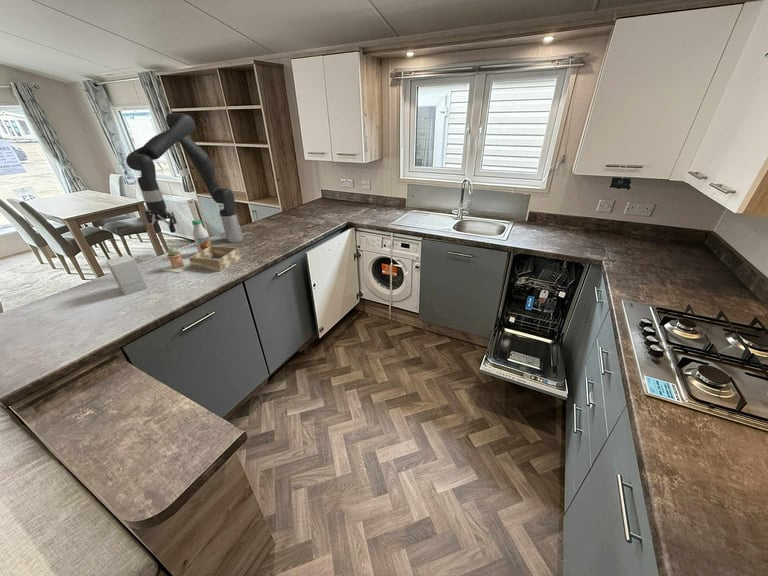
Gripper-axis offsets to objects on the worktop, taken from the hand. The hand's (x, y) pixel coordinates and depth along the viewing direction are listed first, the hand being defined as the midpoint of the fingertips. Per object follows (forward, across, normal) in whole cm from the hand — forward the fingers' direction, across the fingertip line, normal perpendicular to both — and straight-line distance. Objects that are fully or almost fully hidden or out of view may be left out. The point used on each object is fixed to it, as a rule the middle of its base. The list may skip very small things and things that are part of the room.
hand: (166, 231), depth 150 cm
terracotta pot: (+20, 0, 0) cm, 20 cm away
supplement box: (+20, +3, +24) cm, 32 cm away
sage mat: (+20, 0, 0) cm, 20 cm away
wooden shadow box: (+20, -16, -10) cm, 27 cm away
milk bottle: (+20, -1, -20) cm, 28 cm away
